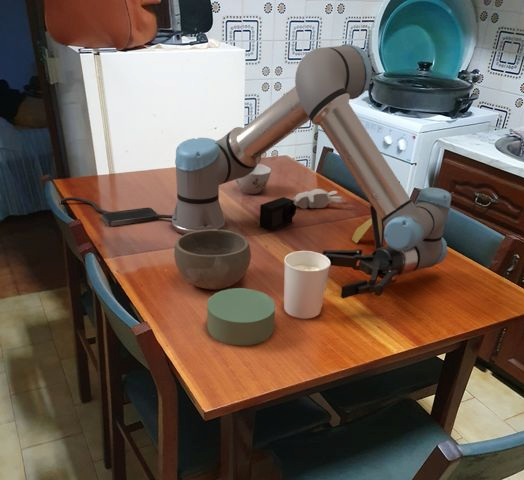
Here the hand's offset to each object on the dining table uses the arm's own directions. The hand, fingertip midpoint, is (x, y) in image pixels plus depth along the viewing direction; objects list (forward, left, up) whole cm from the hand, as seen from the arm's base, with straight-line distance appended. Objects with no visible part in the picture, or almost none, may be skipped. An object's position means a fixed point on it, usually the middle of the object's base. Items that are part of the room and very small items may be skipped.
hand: (323, 279), depth 121 cm
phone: (-66, +22, -7) cm, 70 cm away
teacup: (-46, +64, -7) cm, 79 cm away
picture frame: (+1, +40, -7) cm, 41 cm away
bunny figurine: (-21, +61, -7) cm, 65 cm away
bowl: (-27, -1, -7) cm, 28 cm away
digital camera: (-26, +39, -7) cm, 47 cm away
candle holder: (-3, -4, -7) cm, 8 cm away
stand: (-12, -17, -7) cm, 22 cm away
